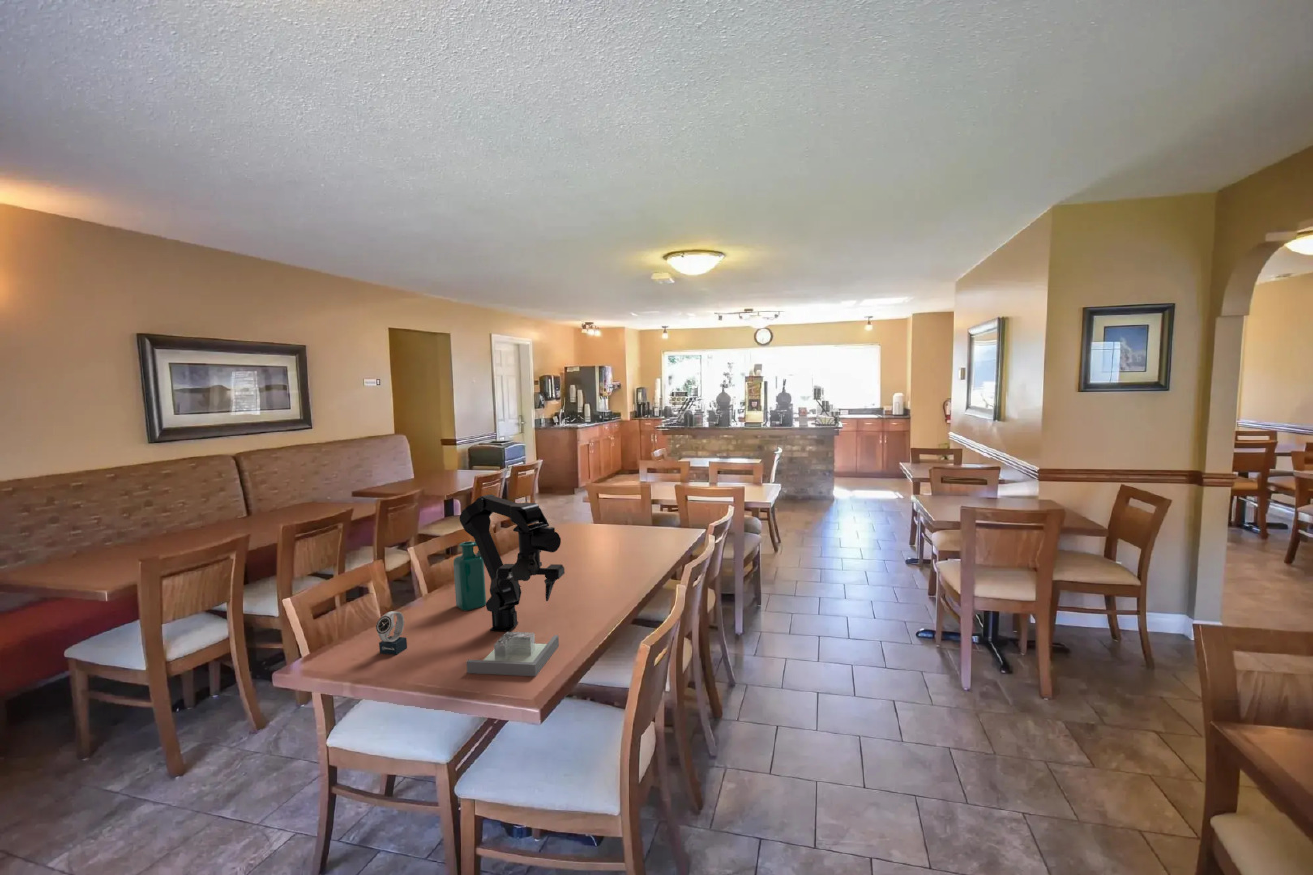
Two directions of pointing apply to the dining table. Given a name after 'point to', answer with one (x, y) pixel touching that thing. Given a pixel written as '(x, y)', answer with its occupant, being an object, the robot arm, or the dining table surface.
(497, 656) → the bracket
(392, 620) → the watch
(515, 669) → the corner walls
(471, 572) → the green bottle
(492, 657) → the mat
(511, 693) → the dining table surface
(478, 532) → the robot arm
